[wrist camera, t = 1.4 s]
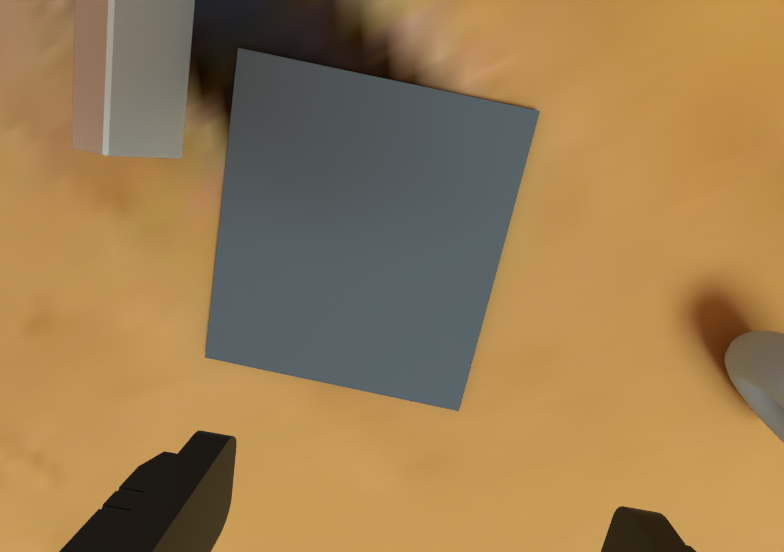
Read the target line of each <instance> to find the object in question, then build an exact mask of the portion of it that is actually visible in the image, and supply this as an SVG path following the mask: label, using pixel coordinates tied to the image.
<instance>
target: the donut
mask: <svg viewBox="0 0 784 552" xmlns="http://www.w3.org/2000/svg"><path fill="white" fill-rule="evenodd" d="M724 363H725V366H726V369H727V372H728V375H729V377H730V380H731V381H732V383H733V384H734V386H735V388H736V389H737V391H738V392H739V393H740V395H741V396H742V397H743V399H744V400H745V401H746V403H747V404H748V405H749V406H750V407H751V409H752V410H753V411H754V412H755V413H756V414H757V415H758V417H759V418H760V419H761V420H762V421H763V422H764V423H765V424H766V425H767V426H768V427H769V428H770V429H771V430H772V431H773V433H774V434H775V435H776V436H777V437H778V438H779V439H780V440H781V441H782V442H784V334H782V333H779V332H772V331H755V332H747V333H745V334H742V335H740V336H738V337H737V338H735V339H734V340H733V341H732V342H731V344H730V346H729V348H728V349H727V352H726V354H725V362H724Z"/></svg>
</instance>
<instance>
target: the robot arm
mask: <svg viewBox="0 0 784 552" xmlns="http://www.w3.org/2000/svg"><path fill="white" fill-rule="evenodd" d="M235 454H236V438H235V437H234V436H228V435H222V434H217V433H211V432H205V431H197V432H196V433H195V434H194V435H193V436H192V437H191V438H190V440H189V441H188V442H187V443H186V444H185V446H184V447H183V448H182V449H181V450H180V452H179V453H178V454H175V453H170V452H163V453H161V454H159V455H157V456H156V457H154V458H152V459H151V460H149V461H147V462H145V463H144V464H142V465H140V466H139V467H138V468H137V469H136V470H135V471H134V472H133V473H132V474H131V475H130V476H129V477H128V478H127V479H126V480H125V482H124V483H123V484H122V485H121V486H120V487H119V490H118V491H115V492H114V493H113V494H112V496H111V497H110V498H109V499H108V500H107V501H106V502H105V503H104V504H103V507H102V509H99V510H98V511H97V512H96V513H95V514H94V515H93V516H92V517H91V518H90V519H89V520H88V521H87V522H86V524H85V525H84V526H83V527H82V528H81V529H80V530H79V531H78V532H77V533H76V534H75V535H74V536H73V538H72V539H71V540H70V541H69V542H68V543H67V544H66V545H65V546H64V547H63V548H62V549H61V550H60V552H211V550H212V548H213V547H214V545H215V543H216V541H217V539H218V537H219V535H220V533H221V531H222V529H223V527H224V524H225V522H226V519H227V515H228V512H229V508H230V504H231V497H232V487H233V476H234V465H235ZM601 552H696V551H695V550H694V549H693V548H692V547H691V546H687V545H685V543H684V542H683V541H682V539H681V538H680V536H679V535H678V534H677V532H676V531H675V530H674V528H673V527H672V525H671V524H670V523H669V521H668V520H667V519H666V518H665V516H663V515H662V514H660V513H657V512H652V511H646V510H640V509H635V508H629V507H623V506H622V507H619V508H618V509H617V510H616V511H615V513H614V515H613V518H612V521H611V524H610V527H609V530H608V533H607V535H606V538H605V541H604V544H603V547H602V550H601Z"/></svg>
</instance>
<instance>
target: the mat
mask: <svg viewBox="0 0 784 552" xmlns="http://www.w3.org/2000/svg"><path fill="white" fill-rule="evenodd" d="M539 112H540V111H537V110H533V109H528V108H523V107H518V106H513V105H509V104H504V103H499V102H494V101H490V100H485V99H480V98H475V97H470V96H466V95H461V94H456V93H451V92H447V91H442V90H437V89H432V88H427V87H423V86H418V85H413V84H408V83H404V82H399V81H394V80H389V79H385V78H380V77H375V76H370V75H365V74H361V73H356V72H351V71H346V70H342V69H337V68H332V67H327V66H322V65H318V64H313V63H308V62H303V61H299V60H294V59H289V58H284V57H280V56H275V55H270V54H265V53H260V52H256V51H251V50H246V49H241V48H238V52H237V62H236V71H235V81H234V90H233V99H232V109H231V118H230V128H229V137H228V146H227V156H226V165H225V175H224V184H223V193H222V203H221V212H220V222H219V231H218V240H217V250H216V259H215V269H214V278H213V287H212V297H211V306H210V316H209V325H208V334H207V344H206V353H205V357H206V358H210V359H215V360H220V361H225V362H229V363H234V364H239V365H244V366H248V367H253V368H258V369H262V370H267V371H272V372H277V373H281V374H286V375H291V376H296V377H300V378H305V379H310V380H314V381H319V382H324V383H329V384H333V385H338V386H343V387H348V388H352V389H357V390H362V391H366V392H371V393H376V394H381V395H385V396H390V397H395V398H400V399H404V400H409V401H414V402H419V403H423V404H428V405H433V406H437V407H442V408H447V409H452V410H456V411H459V408H460V405H461V401H462V397H463V393H464V390H465V386H466V382H467V379H468V375H469V371H470V368H471V364H472V360H473V356H474V353H475V349H476V345H477V342H478V338H479V334H480V331H481V327H482V323H483V319H484V316H485V312H486V308H487V305H488V301H489V297H490V294H491V290H492V286H493V282H494V279H495V275H496V271H497V268H498V264H499V260H500V256H501V253H502V249H503V245H504V242H505V238H506V234H507V231H508V227H509V223H510V219H511V216H512V212H513V208H514V205H515V201H516V197H517V194H518V190H519V186H520V182H521V179H522V175H523V171H524V168H525V164H526V160H527V156H528V153H529V149H530V145H531V142H532V138H533V134H534V131H535V127H536V123H537V119H538V116H539Z"/></svg>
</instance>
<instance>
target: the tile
mask: <svg viewBox="0 0 784 552" xmlns="http://www.w3.org/2000/svg"><path fill="white" fill-rule="evenodd" d="M194 5H195V0H75V40H74V85H73V130H72V148H73V149H78V150H83V151H87V152H92V153H97V154H102V155H106V156H125V157H152V158H179V159H182V151H183V138H184V126H185V114H186V102H187V90H188V78H189V65H190V53H191V41H192V29H193V17H194Z"/></svg>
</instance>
